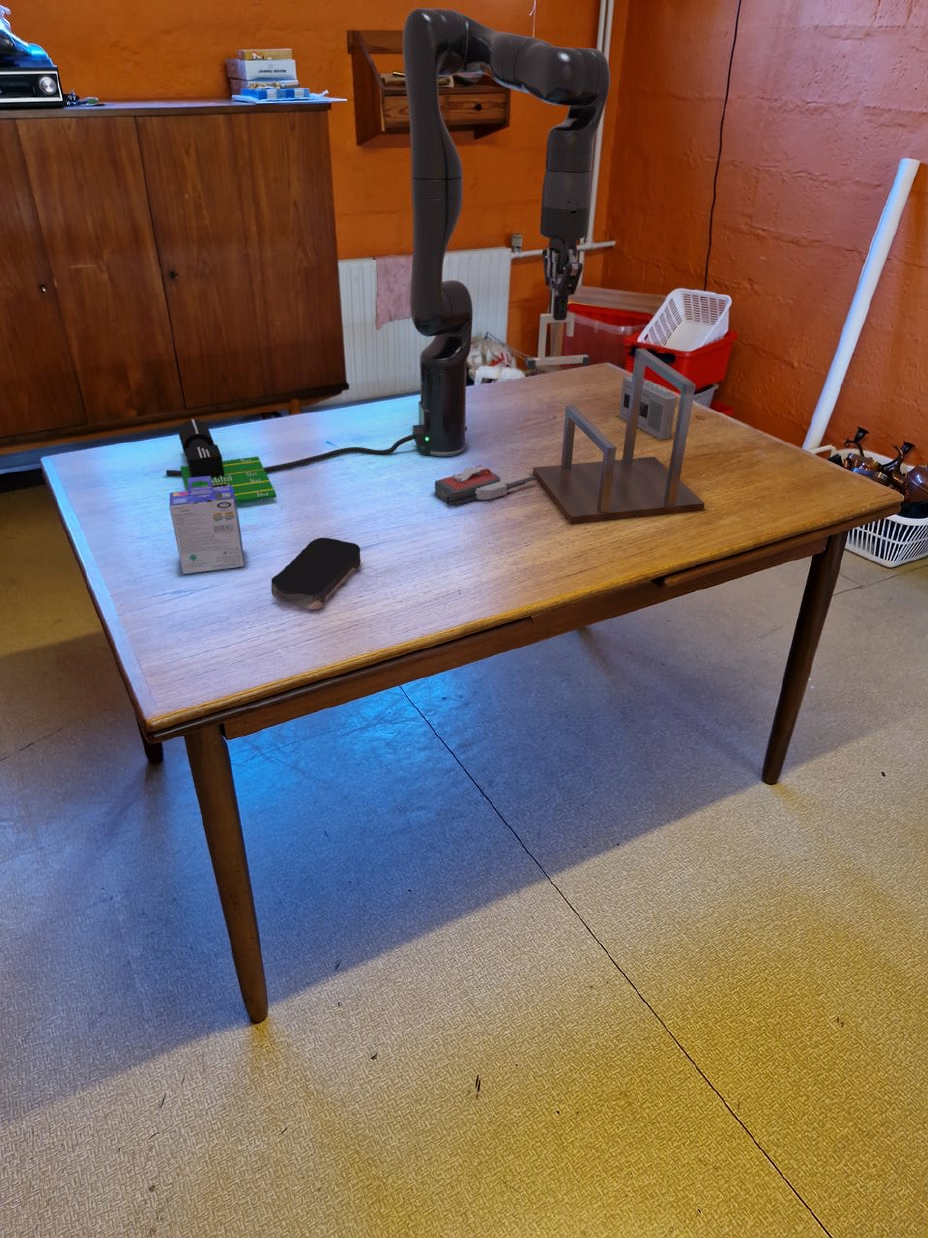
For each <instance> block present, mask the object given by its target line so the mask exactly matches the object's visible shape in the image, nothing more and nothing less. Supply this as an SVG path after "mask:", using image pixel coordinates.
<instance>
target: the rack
mask: <svg viewBox="0 0 928 1238" xmlns="http://www.w3.org/2000/svg"><path fill="white" fill-rule="evenodd" d="M634 355H635V356H634V364H633V370H632V371H633V372H632V376H633V378H632V386H631V394H630V402H629V410H628V418H627V421H626V427H625V434H624V443H623V451H622V458H621V459H616V453H617V446H616V445H615V444H614V443H613V442H612V441H611V440H610V439H609V438H608V437H607V436H606V435H605V434H604V433H603V432H602V431H601V430H600V429H599V428H598V427H597V426H596V425H595V424H594V423H593V422H592V421H591V420H590V419H588V417H587V416H586V415H585V414H583V412H582V411H580V409H579V408H577V406H576V405H575V404H570V405H569V404H568V405H565V415H564V426H563V437H562V438H563V439H562V450H561V462H560V463H561V464H557V465H546V466H544V465H543V466H535V467H532V476H535V477H536V481H537V482H538V483H539V484H540V486H541V487H542V489H543V490H544V491H545V492H546V494H547V495H548V496H549V498H550V499H551V501H552V502H553V503H554V504H555V506H556V507H557V508H558V510H559V511H560V513H561V514H562V515H563V516H564V517H565V520H567V522H568V523H569V524H570V525H574V524H584V523H585V524H586V523H595V522H605V521H614V520H615V521H616V520H621V519H622V520H623V519H631V518H633V519H634V518H642V517H651V516H652V517H653V516H662V515H670V514H671V515H672V514H680V513H689V512H690V513H691V512H700V511H704V510H705V505H706V503H705V501H703V500H702V499H701V498H700V497H699V496H698V495H697V494H695V492H693V490H691V488H689V487H688V486H687V485H686V483H684V482H683V481H681V474H682V468H683V462H684V457H685V450H686V445H687V437H688V434H689V433H688V432H689V426H690V420H691V414H692V409H693V404H694V403H693V402H694V397H695V390H696V384H695V382H692V380H690V379H689V378H687V377H686V376H684V375H683V374H681V373H680V372H678V371H677V370H675V369H674V368H672V367H671V366H670V365H668V364H667V363H666V362H664V361H663V360H661V359H659V357H657V356H655V355H654V354H653V353H651V352H650V351H648V350H647V349H645V348H636V349H635V354H634ZM646 367H647V368H649V369H650V370H652V371H653V372H654V373H656V374H657V375H658V376H660V377H661V378H663V379H664V380H665V381H667V382H668V383H669V384H670V385H672V386H673V387H675V388H676V389H678V391H680V397H679V404H678V410H677V417H676V423H675V429H674V436H673V442H672V448H671V454H670V460H669V466H668V467H666V466H665V465H664V463H662V462H661V461H660V460H659V459H658V458H657V457H656V456H647V457H646V456H645V457H634V455H635V454H634V452H635V445H636V440H637V433H638V431H637V430H638V427H637V424H638V417H639V409H640V402H641V394H642V387H643V379H645V378H644V377H645V370H646ZM576 426H577V427H578V428H579V429H580V431H581V432H583V434H584V435H586V437H587V438H589V440H590V441H591V442H592V443H593V444H594V445H595V446H596V447H597V448H598V449H599V450H600V451H601V452H602V453H603V454H602V455H603V456H602V461H600V460H599V461H592V462H591V461H590V462H580V463H573V453H574V443H575V433H576V431H575V430H576Z"/></svg>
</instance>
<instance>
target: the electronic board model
mask: <svg viewBox="0 0 928 1238" xmlns="http://www.w3.org/2000/svg"><path fill="white" fill-rule="evenodd" d="M178 437H179V440H180V444H181V447H182V450H183V453H184V456H185V457H186V461H187V465H183V466H179V467H180V471H181V472H182V475H183V476H182V479H183V482H184V485H185V489H186V491H188V481H187V478H191V477H203V476H211V481H212V486H213V487H222V486H230V485H232V487H233V490H234V495H235V500H236V504H238V503H243V502H244V503H245V502H252V501H258V500H265V499H273V498H277V493H276V491H275V488H274V487H273V485H272V482H271V480H270V479H269V476H268V474H267V472H265V470H264V466H263V463H262V461H261V460H260V458H259V456H252V457H251V456H250V457H244V458H243V457H242V458H236V459H235V458H234V459H229V460H228V459H227V460H223V457H222V456H223V455H222V453H221V451H220V448H219V446H218V444H215V442H214V439H213V436H212V434H211V432H210V429H209V427H208V425H207V424H206V423H205V422H203V421H202V420H200V419H193V418H192V419H188V420H186V421H184V422H183V423H182V424H181V425H180V427H179V430H178ZM191 486H192V487H202V486H208V483H207V482H203V481H198V482H195V483H193V484H192V485H191Z"/></svg>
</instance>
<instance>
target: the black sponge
mask: <svg viewBox="0 0 928 1238" xmlns="http://www.w3.org/2000/svg"><path fill="white" fill-rule="evenodd" d="M361 562H362V560H361V547H360V546H359V544H357V543H354V542H348V541H343V540H341V539H340V540H339V539H336V538H330V537H319V538H316V539H313V540H312V541H310V542H309V543H308V544H307V545H306V546H305V547H304V548H303V549H302V550H301V551H300V552H299V554H297V555H296V557H295V558H293V560H291V562H289V563H288V564H287V565H286V566H285V567H284V568H283V569H282V570H281V571H280V572H279V573H277V574H276V575H275V576H273V577H272V578H271V583H270V584H271V585H270V587H271V588H270V590H271V591H270V592H271V594H272V597H273V598H275V599H277V600H279V601H281V602H283V603H288V604H292V605H294V606H299V607H301V608H305V609H310V610H318V609H321V608H323V607H324V605H325V603H326V601H328V600H329V598H330V597H331V596H332V595H333V594H334V593H335V592H336V590H337V589H339V587H340V586H341V585H342V584H343V582H345V580H346V579H347V578H348V577H349V576H350V575H351V574H352V573H353V572H354V571H357V570H358V569H359V567H360V566H361Z"/></svg>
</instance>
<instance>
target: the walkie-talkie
mask: <svg viewBox="0 0 928 1238" xmlns="http://www.w3.org/2000/svg"><path fill="white" fill-rule="evenodd" d="M533 481H537V479H536V477H535V476H534V475H532V476H529V477H526V478H523V479H519V480H516V481H513V482H509V483H503V482H502V481H501V477H500V476H499V475H497V474H496V473H494V472H492V471H491V470H490V469H489V468H488V467H486V466H484V465H483V464H482V465H481V464H480V465H476V466H475V467H474V466H473V467H469V468H466V469H464V470H463V472H462V473H458V474H456V473H455V474H452V476H448V477H445V478H441V479H438V480H435V482H434V495H435V496H436V497H438V498H440V499H441V500H442V501H444V502H445V503H446V504H449V505H451V506H457V505H461V504H464V503H467V502H470V501H473V500H485V501H487V500H492V499H494V498H498V497H501V496H503V497H504V496H506V495H507V493H508V491H510V490H511V489H514V488H518V487H521V486H524V485H526V484H528V483H530V482H533Z"/></svg>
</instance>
